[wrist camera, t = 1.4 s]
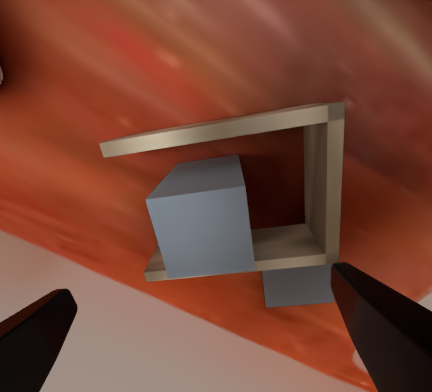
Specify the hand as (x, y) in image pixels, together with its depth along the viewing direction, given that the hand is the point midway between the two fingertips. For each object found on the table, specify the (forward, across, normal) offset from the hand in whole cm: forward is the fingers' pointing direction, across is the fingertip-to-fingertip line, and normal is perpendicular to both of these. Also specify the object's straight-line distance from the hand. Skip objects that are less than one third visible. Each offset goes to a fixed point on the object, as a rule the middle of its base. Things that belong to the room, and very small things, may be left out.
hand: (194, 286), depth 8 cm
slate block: (+10, 0, 0) cm, 10 cm away
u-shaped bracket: (+10, -1, 0) cm, 10 cm away
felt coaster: (+10, -6, +9) cm, 15 cm away
